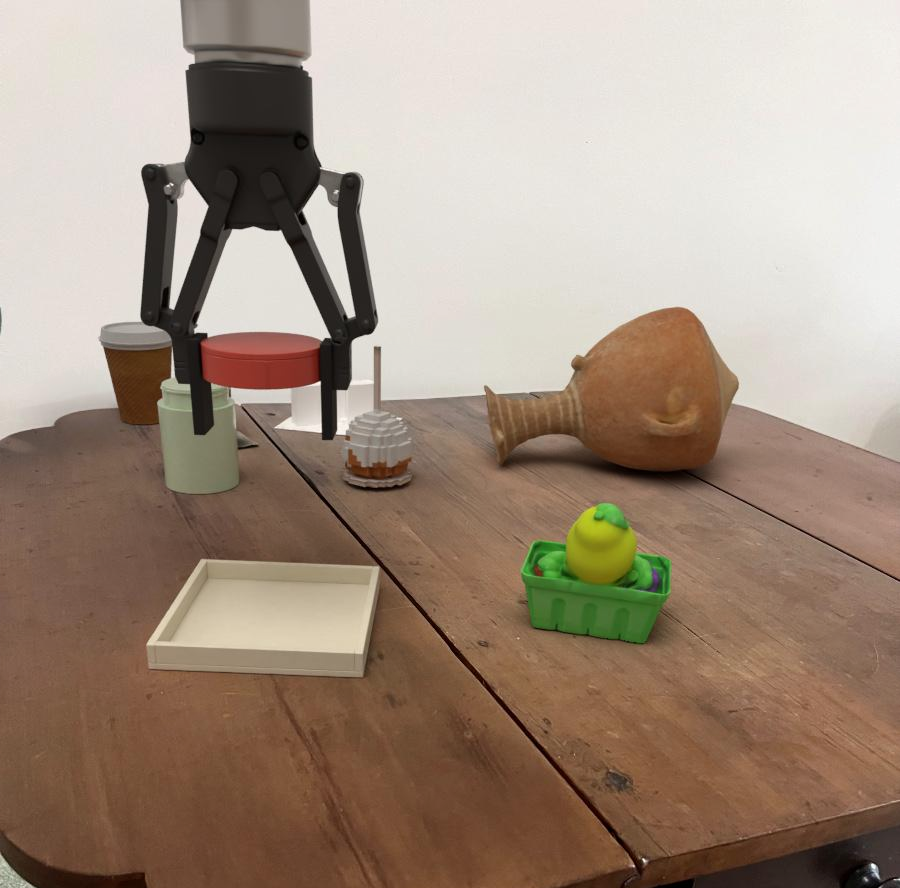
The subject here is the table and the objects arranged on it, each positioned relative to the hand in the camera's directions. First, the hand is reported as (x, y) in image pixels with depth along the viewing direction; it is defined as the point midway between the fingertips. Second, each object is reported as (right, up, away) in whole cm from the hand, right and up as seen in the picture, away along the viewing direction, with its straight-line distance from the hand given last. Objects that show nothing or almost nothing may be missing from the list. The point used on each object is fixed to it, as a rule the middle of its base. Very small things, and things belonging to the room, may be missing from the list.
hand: (267, 432), depth 65 cm
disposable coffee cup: (-28, +12, +59) cm, 66 cm away
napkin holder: (-2, +12, +61) cm, 62 cm away
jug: (+32, +5, +49) cm, 58 cm away
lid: (0, +5, -3) cm, 6 cm away
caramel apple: (+5, +1, +39) cm, 40 cm away
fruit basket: (+24, -14, +9) cm, 30 cm away
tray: (-1, -14, +7) cm, 15 cm away
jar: (-14, +1, +36) cm, 39 cm away
